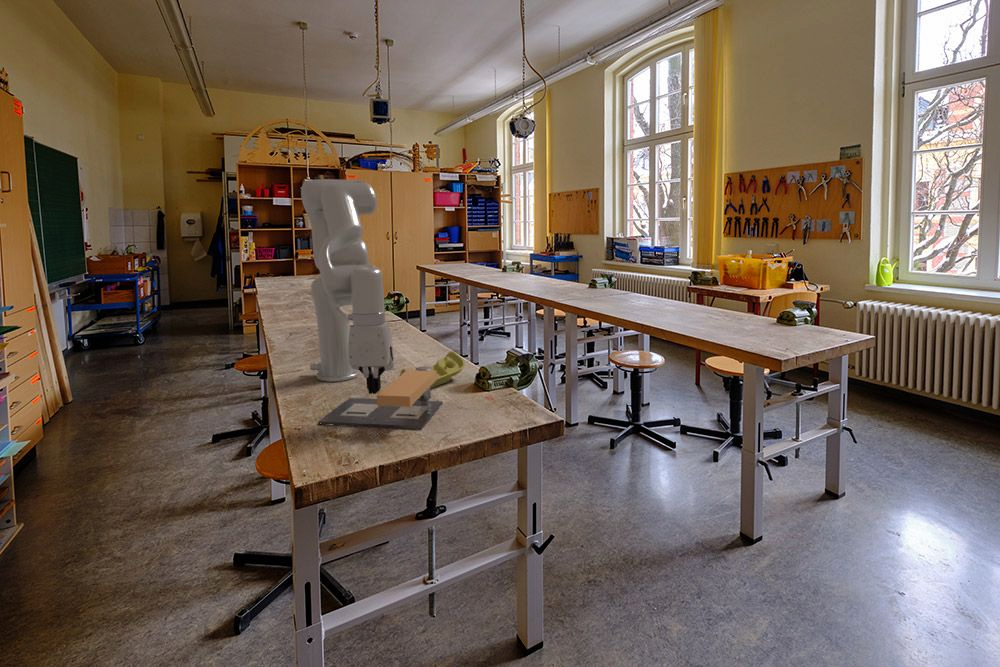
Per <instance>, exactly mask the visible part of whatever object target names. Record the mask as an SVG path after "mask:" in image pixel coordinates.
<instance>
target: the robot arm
mask: <svg viewBox="0 0 1000 667" xmlns="http://www.w3.org/2000/svg"><path fill="white" fill-rule="evenodd" d="M300 195H301V196H300V197H301V203H302V205H303V208H304V210H305V212H306V214H307V217H308V219H309V223H310V226H311V238H312V239H311V240H312V251H313V252H312V253H313V259H314V260H313V261H314V264H315V267H316V269H318V270H319V274H320V276H319V277H316V278H315V279H314V280H313V281H312V283H311V286H310V292H311V297H312V301H313V304H314V310H315V314H316V322H317V323H316V324H317V326H316V327H317V334H318V336H317V337H318V345H319V346H318V347H319V358H320V362H310V366H309V369H310V370H311V371H317V373H316V379H317V380H318V381H322V382H327V383H328V382H333V383H334V382H342V381H348V380H351V379H352V380H353V379H354V378H356V377H358V376H359V372H361V374H362V375H363V376H364V378H365V379H366V389H367V390H368V394H369V395H372V394H373V395H377V393H379V392H380V390H381V389H382V385H381V383H382V382H381V376H382V375H383V373H384V372H388V371H392V370H393V369H395V364H394V362H393V361H394V356H395V355H394V348H393V347H394V346H393V341H392V340H393V339H392V335H391V334H392V333H391V331H390V326H389V324H388V323H386V311H385V308H386V307H385V293H384V281H383V280H384V279H383V278H384V277H383V272H382V270H381V269H380V268H378V267H377V266H376V265H374V264H370V257H369V256H370V255H369V249H368V246H367V244H366V242H365V241H364V240H362V237H363V234H364V230H363V226H362V223H361V218H360V215H362V216H365V215H367V216H368V215H369V216H370V215H372V214H374V213H375V212H376V211H377V206H378V205H377V204H378V200H377V195H376V192H375V190H374V188H373V186H371V184H370V183H368V182H366V181H363V180H359V179H329V178H327V179H326V178H321V179H318V178H317V179H310V180H307V181H305V182H303V184H302V185H301V188H300ZM345 306H351V307H352V312H351V314H350V313H349V314H348V315H346V313H345V312H344V311H342V309H340V307H345ZM350 321H352V324H351V325H350V323H351V322H350Z"/></svg>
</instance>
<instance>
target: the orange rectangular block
mask: <svg viewBox="0 0 1000 667" xmlns="http://www.w3.org/2000/svg"><path fill="white" fill-rule="evenodd" d="M406 370H407V371H405V372H404V373H403V374H402V375H401V376H400V375H399V376H398V377H397V378H395V379H394V380H393V381H392V382H391V383H390V384H388V385H387V386H386V387H385V388H384V389H383V390H381V391H379V392H378V394H377V393H376V394H375V395H376V399H377V406H400V407H411V406H412V405H413V404H414V402H415V401H416V400H417V401H418V399H420V396H421V395H422V394H423V393H424V392H425V391H426V390H427V389H428V388H429V387H430V386H431V385H432V384H433V383H434V382H435V381H436V380H437V371H435V370H432V368H431V367H430V366H418V367H416V368H415V369H406Z"/></svg>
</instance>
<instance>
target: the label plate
mask: <svg viewBox="0 0 1000 667" xmlns="http://www.w3.org/2000/svg"><path fill="white" fill-rule="evenodd" d="M430 398H432V397H431V389H430V387H429V388H428V389H427V390H426V391H425V392H424V393H423V394H422V395H421V396H420V397H419V400H418V399H417V400H416V401H415V402H414V404H413V405H412V406H411V407H400V406H377V398H362V397H360V398H359V397H349V398H348V399H346V400H345V401H343V402H342V403H341V404H339V405H338V406H337V407H336V408H334V409H333V410H332V411H330V412H329V413H327V414H326V415H325V416H323V417H321V418H320V419H319V420H318V421H317V425H318V424H320V423H321V424H333V425H332V426H338V425H346V426H345V427H358V426H360V427H361V428H363V427H364V428H381V429H382V428H383V429H401V430H402V429H403V430H421V429H422V428H423V429H424V427H425V426H426V425H427V424H428V423H429V422H430V420H431V419H432V418H433V417H434V415H435V414H436V413H437V412H438V411H439V410H440V408H441V407H442V406H443V401H441V400H439V401H438V400H437V401H436V400H431V399H430ZM429 399H430V400H429ZM441 405H442V406H441ZM440 406H441V407H440ZM439 407H440V408H439ZM436 411H437V412H436ZM435 412H436V413H435ZM432 416H433V417H432ZM431 417H432V418H431ZM423 429H422V430H423Z"/></svg>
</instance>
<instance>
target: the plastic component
mask: <svg viewBox="0 0 1000 667" xmlns="http://www.w3.org/2000/svg"><path fill="white" fill-rule="evenodd" d="M465 366H466V362H465V360H464V359H463V357H462V356H460V355H459V354H458V353H456V352H455V351H450V352H448V353H447V354H446V355H445V356H444V357H442V358H440V359H438V360H437V361H436V363H435V364H433V365H431V366H429V367H431V368H432V370H435V371H437V380H436V381H435V382H434V383H433V384H432V385H431V386H430V388H431V389H433V388H435V387H438V386H441V385H443V384H445V383H448V382H450V380H451V379H452V378H453V377H455V376H457V375H458V374H459V373H461V371H462V370H463V369H464V368H465ZM407 370H408V369H407V368H402V369H401V370H400V374H399V376H401V375H402V374H403V373H404V372H405V371H407Z"/></svg>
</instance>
